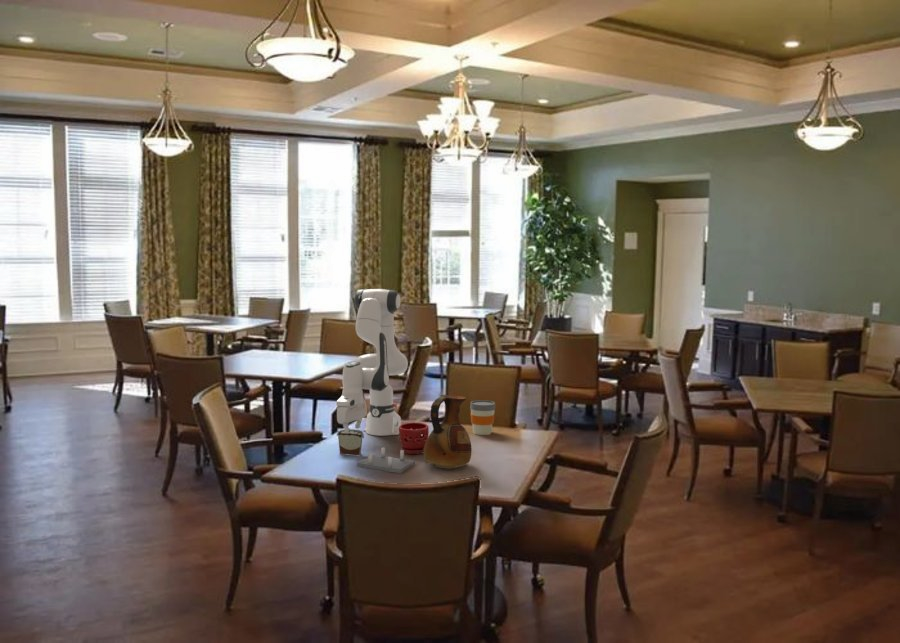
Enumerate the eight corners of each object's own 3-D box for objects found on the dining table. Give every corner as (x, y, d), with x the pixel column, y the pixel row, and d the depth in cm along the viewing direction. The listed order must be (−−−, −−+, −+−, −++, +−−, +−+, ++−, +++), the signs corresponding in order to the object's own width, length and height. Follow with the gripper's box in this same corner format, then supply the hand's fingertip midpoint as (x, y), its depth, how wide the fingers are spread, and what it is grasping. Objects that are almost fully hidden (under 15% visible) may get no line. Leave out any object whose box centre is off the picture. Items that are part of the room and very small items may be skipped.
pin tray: (373, 458, 334) (373, 445, 333) (415, 464, 326) (415, 451, 326) (357, 466, 321) (357, 453, 321) (400, 473, 313) (400, 459, 313)
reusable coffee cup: (466, 434, 378) (467, 404, 377) (473, 428, 390) (473, 399, 389) (491, 436, 375) (492, 406, 373) (497, 430, 387) (498, 401, 385)
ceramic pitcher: (480, 466, 325) (482, 396, 322) (446, 476, 311) (447, 402, 308) (448, 456, 339) (449, 389, 336) (413, 465, 325) (415, 394, 322)
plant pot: (409, 446, 354) (409, 420, 353) (433, 451, 348) (434, 424, 346) (392, 452, 343) (393, 426, 342) (417, 457, 336) (418, 430, 335)
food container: (368, 452, 343) (368, 430, 342) (362, 456, 337) (363, 433, 336) (342, 450, 346) (342, 428, 345) (336, 453, 340) (336, 431, 339)
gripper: (358, 394, 349) (358, 425, 350) (334, 402, 331) (334, 434, 332) (370, 395, 347) (370, 426, 348) (347, 403, 328) (347, 435, 329)
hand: (352, 430), depth 340 cm, fingers open, 8 cm apart
